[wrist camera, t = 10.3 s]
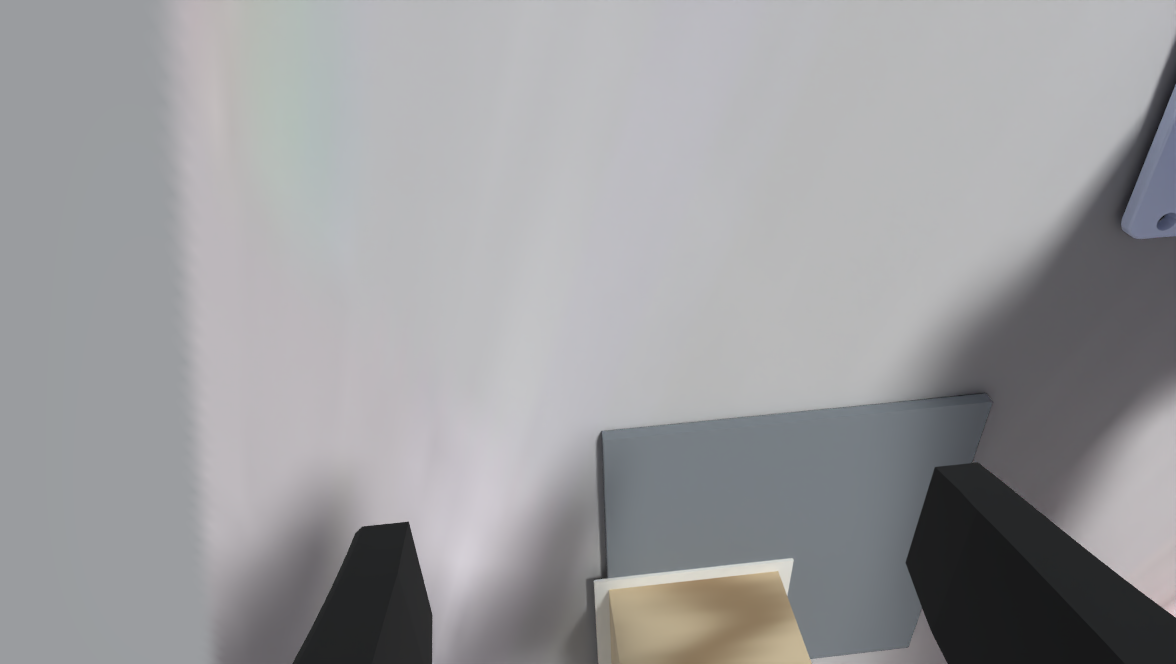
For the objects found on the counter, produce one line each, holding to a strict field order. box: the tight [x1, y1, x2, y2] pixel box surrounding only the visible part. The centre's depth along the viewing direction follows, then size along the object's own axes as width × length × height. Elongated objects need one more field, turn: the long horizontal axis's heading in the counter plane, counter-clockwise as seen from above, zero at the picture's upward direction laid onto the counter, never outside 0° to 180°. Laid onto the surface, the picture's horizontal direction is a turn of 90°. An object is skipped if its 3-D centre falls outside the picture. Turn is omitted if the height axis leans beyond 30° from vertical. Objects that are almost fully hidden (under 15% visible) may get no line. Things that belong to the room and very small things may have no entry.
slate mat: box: [594, 393, 993, 664], centre depth 28 cm, size 12×14×1 cm
